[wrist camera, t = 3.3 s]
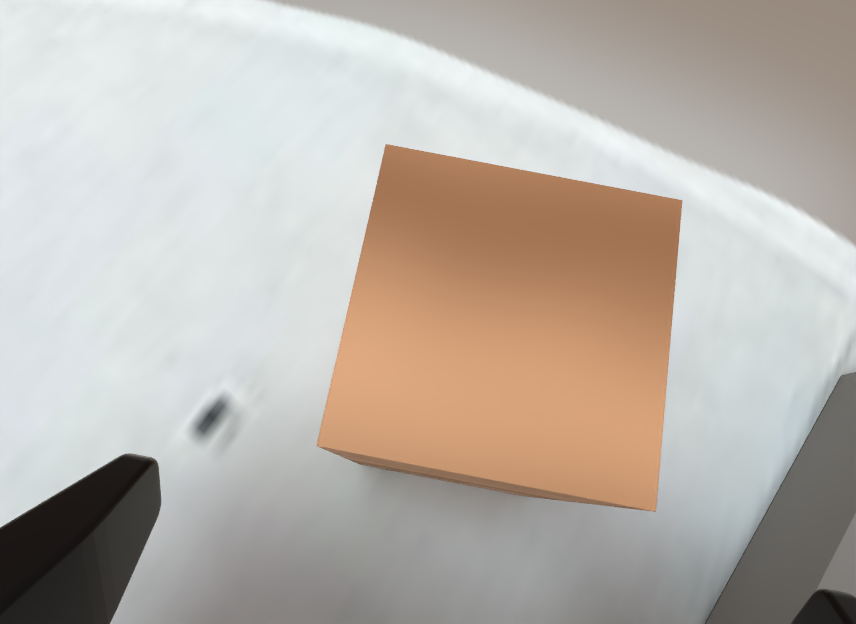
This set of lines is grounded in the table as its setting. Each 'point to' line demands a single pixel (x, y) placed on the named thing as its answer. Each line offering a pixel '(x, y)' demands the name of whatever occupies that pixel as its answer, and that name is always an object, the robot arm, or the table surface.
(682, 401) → the table surface
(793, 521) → the gray tray
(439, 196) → the terracotta block
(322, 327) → the table surface
